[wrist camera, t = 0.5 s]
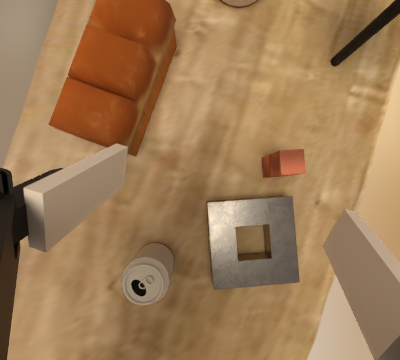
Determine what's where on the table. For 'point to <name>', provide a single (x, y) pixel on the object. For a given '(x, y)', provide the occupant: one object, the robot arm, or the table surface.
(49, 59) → the table surface
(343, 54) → the solar garden light
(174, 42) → the bread
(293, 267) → the socket block
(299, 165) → the peg
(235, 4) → the ramekin
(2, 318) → the robot arm
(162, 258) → the can
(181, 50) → the table surface
